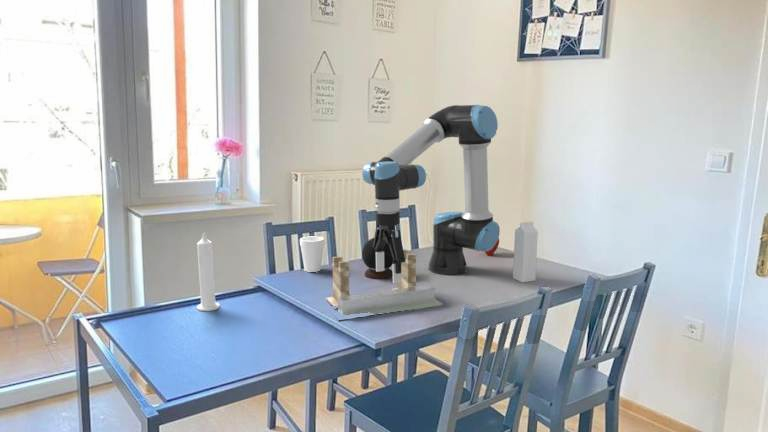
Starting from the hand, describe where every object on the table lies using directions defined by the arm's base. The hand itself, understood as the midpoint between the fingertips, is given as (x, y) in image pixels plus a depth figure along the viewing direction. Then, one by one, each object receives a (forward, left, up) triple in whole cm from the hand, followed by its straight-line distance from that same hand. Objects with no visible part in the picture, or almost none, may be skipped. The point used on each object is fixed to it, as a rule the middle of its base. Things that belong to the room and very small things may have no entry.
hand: (388, 276), depth 183 cm
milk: (-60, -9, -11) cm, 61 cm away
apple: (-68, -45, -11) cm, 82 cm away
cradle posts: (0, -11, -11) cm, 15 cm away
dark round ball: (-12, -36, -11) cm, 39 cm away
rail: (0, 0, -10) cm, 10 cm away
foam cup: (+10, -52, -11) cm, 54 cm away
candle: (+53, -24, -11) cm, 59 cm away
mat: (0, 0, -11) cm, 11 cm away
